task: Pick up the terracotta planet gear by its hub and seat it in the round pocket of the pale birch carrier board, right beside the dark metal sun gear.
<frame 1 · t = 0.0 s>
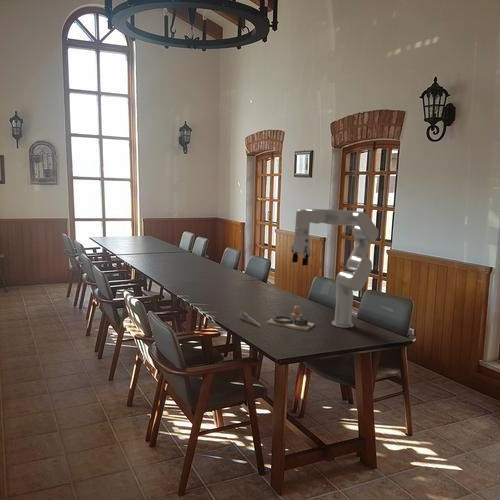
hand: (299, 263, 267), 37 cm above the table, tool pointing down, fingers open, 9 cm apart
planet gear: (296, 318, 295), on the table
carrier: (290, 324, 283), on the table
caliper: (250, 323, 281), on the table
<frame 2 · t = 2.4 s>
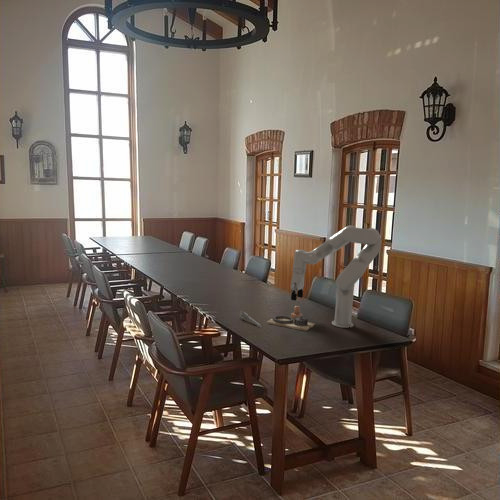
hand: (296, 298, 294), 12 cm above the table, tool pointing down, fingers open, 9 cm apart
nothing on the table moved.
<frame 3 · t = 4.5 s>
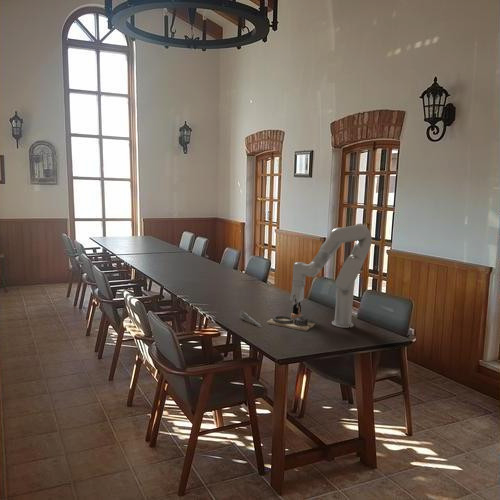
hand: (296, 312, 295), 4 cm above the table, tool pointing down, fingers closed on planet gear, 3 cm apart
planet gear: (296, 318, 295), on the table, touching gripper
everything else where it was.
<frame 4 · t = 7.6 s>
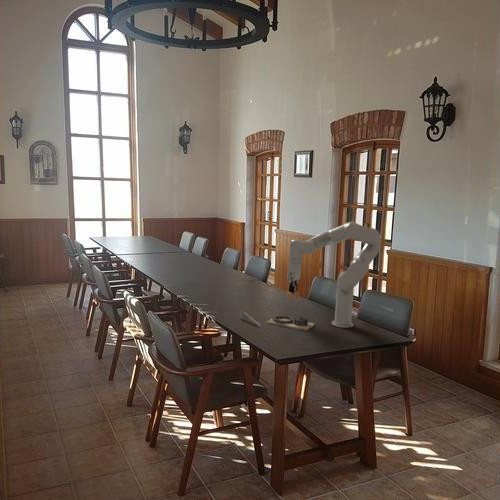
hand: (293, 291, 289), 17 cm above the table, tool pointing down, fingers closed on planet gear, 3 cm apart
planet gear: (292, 297, 290), point 14 cm above the table, touching gripper
everything else where it was.
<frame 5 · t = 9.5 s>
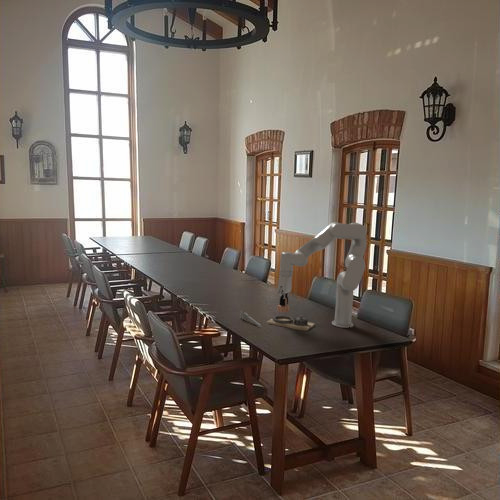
hand: (283, 304, 284), 11 cm above the table, tool pointing down, fingers closed on planet gear, 3 cm apart
planet gear: (283, 310, 284), point 7 cm above the table, touching gripper
everything else where it was.
when the fingers open (6 cm above the table, at t = 11.1 s): planet gear stays where it is, resting on carrier.
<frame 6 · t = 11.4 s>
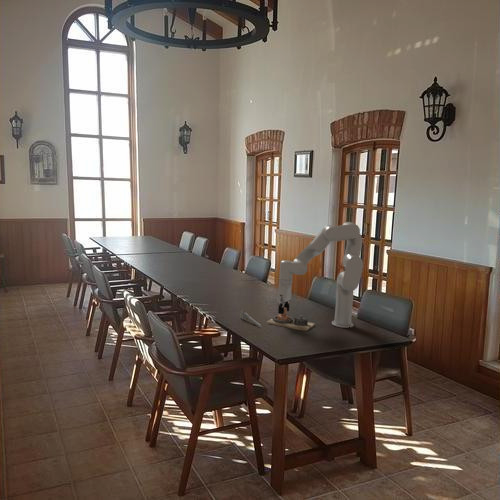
hand: (283, 311, 284), 6 cm above the table, tool pointing down, fingers open, 7 cm apart
planet gear: (283, 320, 285), point 1 cm above the table, touching carrier
everything else where it was.
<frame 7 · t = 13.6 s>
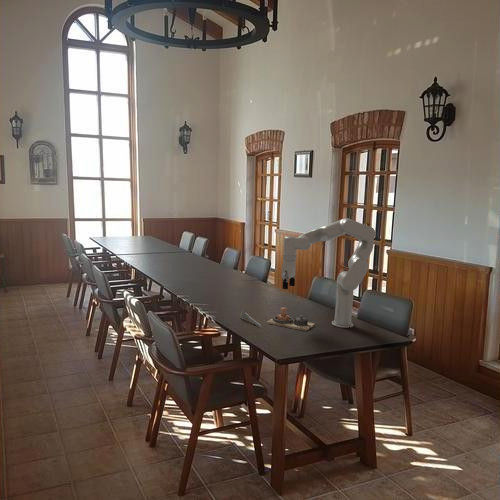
hand: (288, 287, 283), 21 cm above the table, tool pointing down, fingers open, 9 cm apart
nothing on the table moved.
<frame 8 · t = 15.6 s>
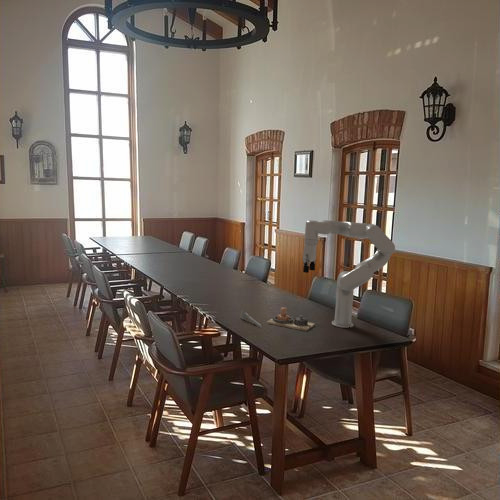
hand: (309, 271, 285), 30 cm above the table, tool pointing down, fingers open, 9 cm apart
nothing on the table moved.
at the end: planet gear 0.0 cm from the target spot on the carrier, point 1.2 cm above the carrier's base; planet gear tilted 0°; the gripper is holding nothing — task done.
